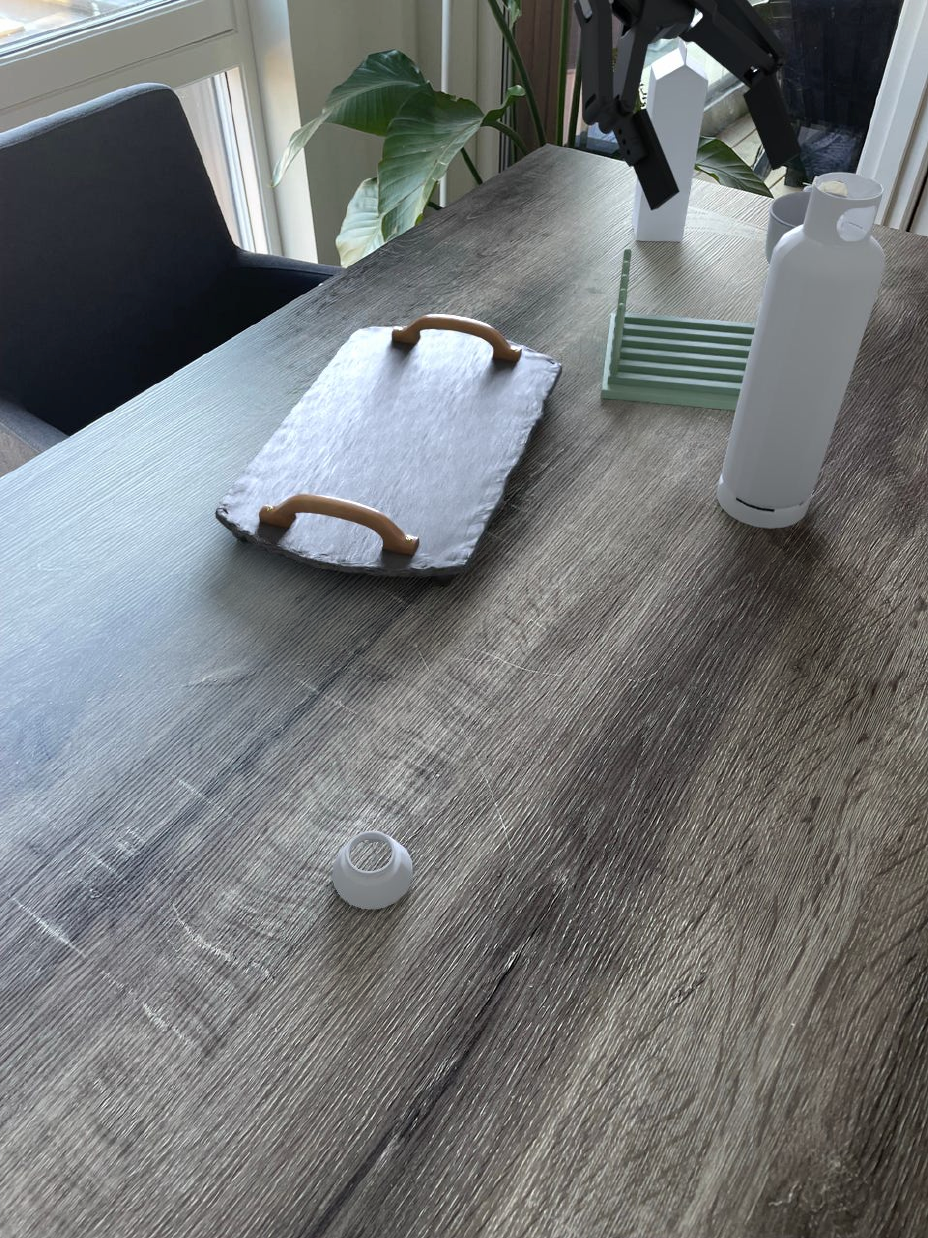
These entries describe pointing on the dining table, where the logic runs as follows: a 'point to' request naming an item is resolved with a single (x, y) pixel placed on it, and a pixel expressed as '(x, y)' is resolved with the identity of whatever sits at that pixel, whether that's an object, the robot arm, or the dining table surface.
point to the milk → (672, 140)
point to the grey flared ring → (373, 875)
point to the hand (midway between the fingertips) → (728, 181)
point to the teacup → (788, 216)
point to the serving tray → (396, 451)
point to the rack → (674, 357)
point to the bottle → (803, 354)
